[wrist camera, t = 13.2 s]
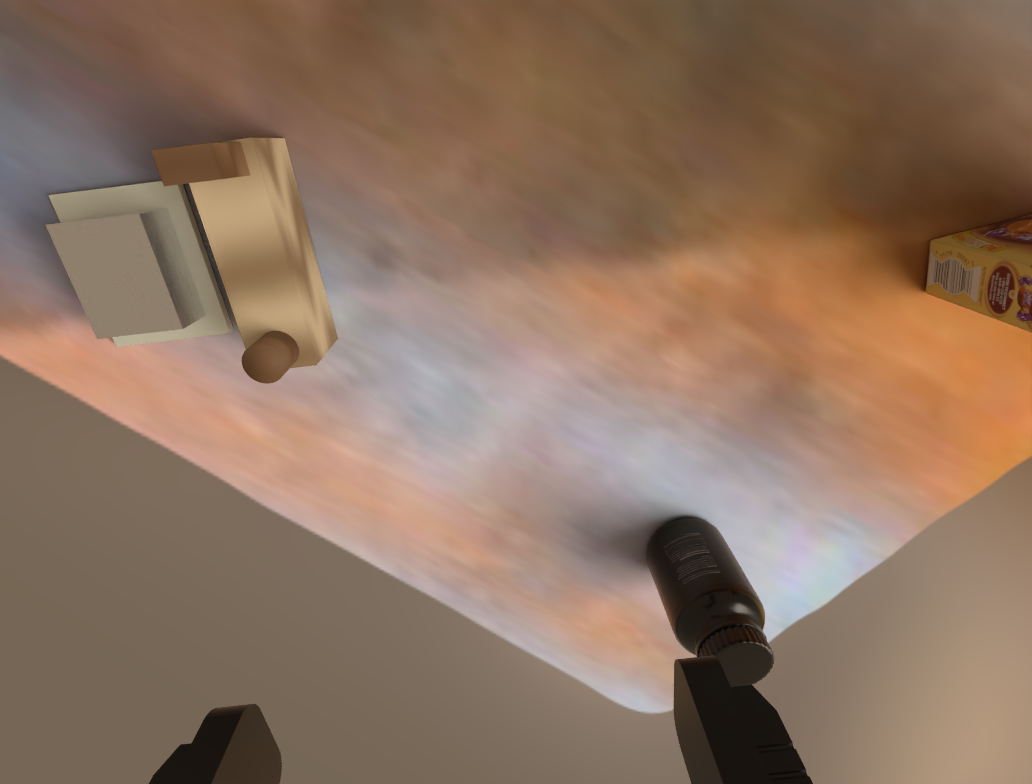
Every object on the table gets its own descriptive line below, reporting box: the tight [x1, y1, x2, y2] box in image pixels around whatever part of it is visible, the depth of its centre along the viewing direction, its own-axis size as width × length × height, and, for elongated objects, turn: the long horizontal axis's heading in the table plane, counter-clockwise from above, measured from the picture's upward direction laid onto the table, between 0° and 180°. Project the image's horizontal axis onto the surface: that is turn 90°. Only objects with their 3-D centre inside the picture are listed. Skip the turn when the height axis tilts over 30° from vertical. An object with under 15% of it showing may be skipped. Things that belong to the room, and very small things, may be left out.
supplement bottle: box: [646, 518, 774, 687], centre depth 42 cm, size 7×7×12 cm
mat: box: [48, 181, 234, 347], centre depth 36 cm, size 10×8×1 cm
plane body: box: [151, 138, 338, 383], centre depth 32 cm, size 13×4×8 cm, turn 7°
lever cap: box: [46, 208, 206, 339], centre depth 34 cm, size 7×6×3 cm
